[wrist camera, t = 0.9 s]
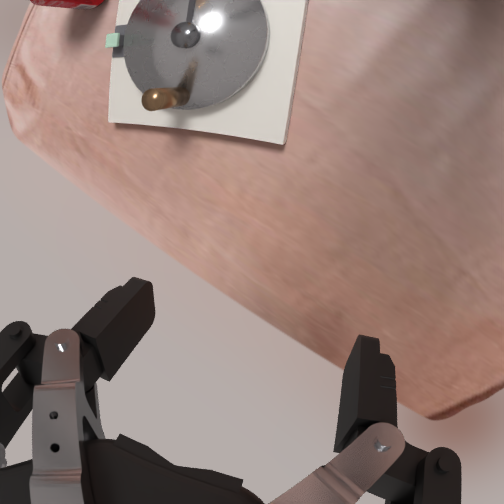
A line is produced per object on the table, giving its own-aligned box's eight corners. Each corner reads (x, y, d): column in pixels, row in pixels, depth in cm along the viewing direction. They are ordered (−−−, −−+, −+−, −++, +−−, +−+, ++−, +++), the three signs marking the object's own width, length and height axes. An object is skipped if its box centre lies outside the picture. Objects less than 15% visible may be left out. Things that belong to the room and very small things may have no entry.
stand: (134, -29, 28) (116, -36, 24) (313, -36, 24) (309, -49, 21) (117, 119, 39) (99, 124, 35) (286, 142, 35) (279, 147, 32)
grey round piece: (140, -21, 26) (102, -34, 20) (279, -28, 24) (262, -54, 17) (125, 104, 35) (85, 112, 29) (258, 117, 32) (236, 125, 26)
